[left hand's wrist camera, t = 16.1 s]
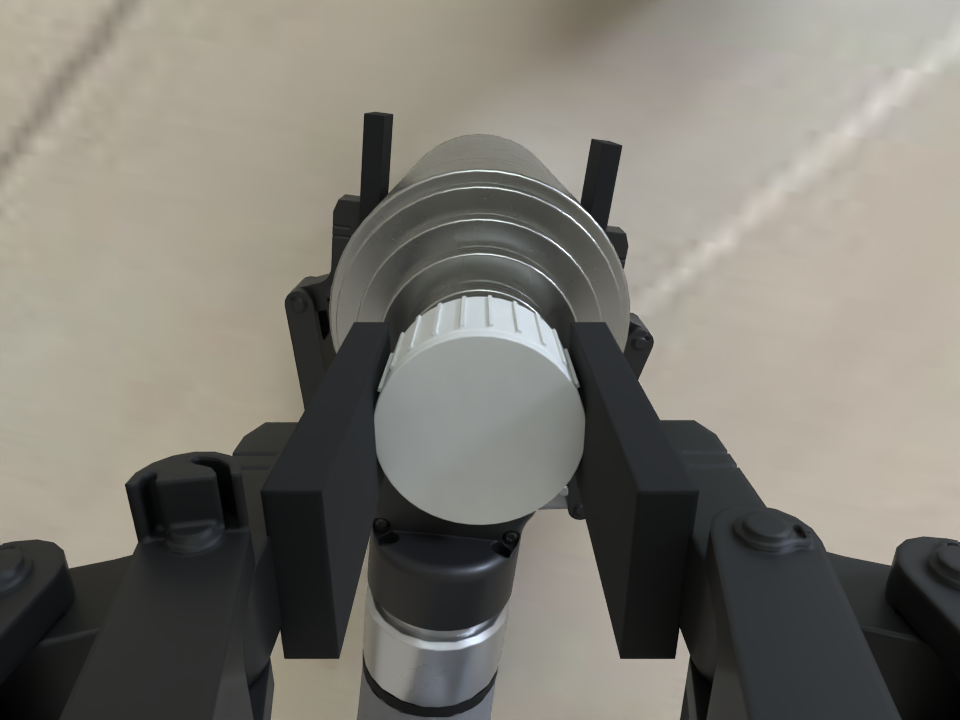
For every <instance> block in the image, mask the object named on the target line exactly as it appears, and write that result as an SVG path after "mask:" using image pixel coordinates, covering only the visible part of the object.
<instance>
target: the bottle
mask: <svg viewBox="0 0 960 720" xmlns="http://www.w3.org/2000/svg"><path fill="white" fill-rule="evenodd" d="M488 295H492V297H493V298H499V299H503V300H507V301H510V302H513V301H516V302H517V304H518V305H520V306H522V307H525V308H526V309H528V310H530V311H531V312H533V313H534V314H535V312H537V313H538V314H539V316H540V318H541V319H542V320H543V321H544V322H545V323H546V324H547V325H548V326H549V327H550V328H551V329H555V330H556V332H557V335H558V338H559V340H560V342H561V344H562V346H563V348H564V349H566V348H567V350H568V353H569V339H570V322H606V324H607V326H608V327H609V329H610V331H611V333H612V335H613V336H614V338H615V340H616V342H617V344H618V345H619V347H620V349H621V351H622V353H624V349H625V345H626V342H627V338H628V330H629V322H630V300H629V293H628V286H627V281H626V278H625V274H624V271H623V267H622V264H621V262H620V260H619V257H618V255H617V253H616V251H615V248H614V246H613V245H612V243H611V242H610V240H609V238H608V237H607V235H606V234H605V232H604V230H603V229H602V228H601V227H600V225H599V224H598V223H597V222H596V221H595V220H594V218H593V217H592V216H591V215H590V214H589V213H588V212H587V211H586V209H585V208H584V207H583V206H582V205H581V204H580V203H579V202H578V201H577V200H576V199H575V198H574V197H573V196H572V194H571V193H570V192H569V191H568V190H567V189H566V188H565V187H564V186H563V185H562V184H561V183H560V182H559V181H558V179H557V178H556V177H555V176H554V175H553V174H552V173H551V172H550V171H549V170H548V169H547V168H546V167H545V166H544V164H543V163H542V162H541V161H540V160H539V159H538V158H537V157H536V156H534V155H533V154H532V153H531V152H530V151H528V150H527V149H526V148H524V147H523V146H521V145H519V144H517V143H515V142H513V141H511V140H508V139H505V138H502V137H498V136H493V135H482V134H476V135H466V136H462V137H457V138H454V139H452V140H449V141H446V142H444V143H442V144H441V145H439V146H437V147H435V148H434V149H433V150H431V151H430V152H429V153H427V154H426V155H425V156H424V157H423V158H422V159H421V160H420V161H419V162H418V163H417V164H416V165H415V166H414V167H413V168H412V169H411V170H410V172H409V173H408V174H407V175H406V176H405V177H404V178H403V179H402V180H401V181H400V182H399V183H398V184H397V185H396V186H395V187H394V189H393V190H392V191H391V192H390V193H389V194H388V195H387V196H386V197H385V198H384V199H383V200H382V201H381V202H380V203H379V205H378V206H377V207H376V208H375V209H374V210H373V211H372V212H371V213H370V214H369V215H368V216H367V217H366V218H365V219H364V221H363V222H362V223H361V225H360V226H359V227H358V229H357V230H356V231H355V232H354V234H353V235H352V237H351V239H350V240H349V242H348V244H347V246H346V247H345V249H344V251H343V253H342V255H341V258H340V260H339V263H338V266H337V268H336V271H335V275H334V279H333V283H332V288H331V295H330V306H329V313H330V329H331V335H332V340H333V345H334V348H335V351H336V354H337V352H338V350H339V348H340V346H341V345H342V343H343V341H344V339H345V337H346V336H347V334H348V332H349V330H350V328H351V327H352V325H353V323H354V322H389V328H390V347H391V353H394V351H395V349H396V346H397V343H398V340H399V337H400V334H401V333H402V332H403V333H405V332H406V330H407V329H408V328H409V327H410V326H411V325H412V324H413V323H414V322H415V321H416V317H417V316H418V315H420V316H422V315H423V314H425V313H426V312H428V311H429V310H431V309H433V308H435V307H437V306H438V303H441V302H442V304H443V303H446V302H449V301H452V300H456V299H461V298H462V296H466V297H488Z"/></svg>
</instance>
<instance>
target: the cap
mask: <svg viewBox="0 0 960 720" xmlns="http://www.w3.org/2000/svg"><path fill="white" fill-rule="evenodd" d="M578 387H580V385H579V382H578V379H577V376H576V373H575V370H574V367H573V364H572V361H571V358H570V356H569V353H568V350H567V348H566V349H564V348H563V346H562V344H561V342H560V340H559V338H558V335H557V332H556V330H555V329H551V328H550V327H549V326H548V325H547V324H546V323H545V322H544V321H543V320H542V319H541V318H540V316H539V314H538V313H537V312H535V314H534V313H533V312H531V311H530V310H528V309H526V308H525V307H522V306H520V305H518V304H517V302H516V301H513V302H510V301H507V300H503V299H499V298H493V297H492V295H488V297H466V296H462V298H461V299H456V300H452V301H449V302H446V303H443V304H442V302H441V303H438V306H437V307H435V308H433V309H431V310H429V311H428V312H426V313H425V314H423V315H422V316H420V315H418V316H417V317H416V321H415V322H414V323H413V324H412V325H411V326H410V327H409V328H408V329H407V330H406V332H405V333H403V332H402V333H401V334H400V337H399V340H398V343H397V346H396V349H395V351H394V353H390V356H389V358H388V361H387V364H386V367H385V370H384V373H383V376H382V378H381V381H380V384H379V387H378V390H377V391H378V392H380V394H379V397H378V400H377V404H376V407H375V411H374V425H375V440H376V454H377V458H378V461H379V463H380V465H381V467H382V469H383V471H384V473H385V475H386V476H387V478H388V479H389V481H390V482H391V484H392V485H393V486H394V487H395V488H396V489H397V491H398V492H399V493H400V494H401V495H402V496H404V497H405V498H406V499H407V500H408V501H409V502H411V503H412V504H414V505H415V506H417V507H418V508H420V509H421V510H423V511H425V512H427V513H429V514H431V515H434V516H436V517H439V518H441V519H444V520H448V521H452V522H456V523H463V524H472V525H487V524H497V523H502V522H508V521H511V520H514V519H518V518H521V517H523V516H525V515H528V514H530V513H532V512H534V511H536V510H537V509H539V508H541V507H543V506H544V505H545V504H547V503H548V502H549V501H551V500H552V499H553V498H554V497H556V496H557V495H558V494H559V493H560V492H561V491H562V490H563V489H564V487H565V486H566V485H567V483H568V482H569V481H570V480H571V478H572V476H573V475H574V473H575V471H576V470H577V468H578V465H579V463H580V461H581V458H582V455H583V448H584V434H585V411H584V407H583V404H582V401H581V398H580V395H579V392H578V389H577V388H578Z"/></svg>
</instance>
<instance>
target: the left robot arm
mask: <svg viewBox="0 0 960 720" xmlns="http://www.w3.org/2000/svg"><path fill="white" fill-rule="evenodd" d="M390 353H391V347H390V328H389V322H354V323H353V325H352V327H351V328H350V330H349V332H348V334H347V336H346V337H345V339H344V341H343V343H342V345H341V346H340V348H339V350H338V352H337V354H336V355H335V357H334V359H333V361H332V363H331V364H330V366H329V368H328V370H327V372H326V373H325V375H324V377H323V379H322V381H321V382H320V384H319V386H318V388H317V390H316V391H315V393H314V395H313V397H312V399H311V400H310V402H309V404H308V406H307V408H306V409H305V411H304V413H303V415H302V417H301V418H300V420H299V422H266V423H264V424H263V425H261V426H259V427H258V428H256V429H255V430H253V431H252V432H250V433H249V434H247V435H246V436H244V437H243V439H242V440H241V442H240V443H239V445H238V446H237V448H236V449H235V450H234V452H233V456H230V455H226V454H222V453H218V452H191V453H185V454H180V455H174V456H171V457H168V458H165V459H162V460H160V461H157V462H154V463H152V464H150V465H148V466H147V467H145V468H143V469H142V470H140V471H138V472H136V473H135V474H134V475H133V476H132V477H131V479H130V480H129V481H128V482H127V483H126V484H125V487H126V491H127V496H128V500H129V504H130V508H131V513H132V517H133V521H134V526H135V530H136V534H137V538H138V544H137V546H136V548H135V551H134V553H133V555H130V556H126V557H122V558H119V559H115V560H110V561H105V562H100V563H95V564H90V565H85V566H80V567H75V568H70V569H69V568H68V564H67V561H66V557H65V554H64V550H62V549H61V548H60V547H59V546H58V545H56V544H55V543H53V542H48V541H42V540H26V541H14V542H9V543H4V544H3V545H0V720H271V711H272V701H273V692H274V679H273V673H272V666H271V660H270V655H271V653H272V650H273V647H274V645H275V642H276V639H277V637H278V634H279V631H281V638H282V645H283V652H284V658H285V659H339V657H340V653H341V649H342V645H343V641H344V637H345V633H346V629H347V625H348V621H349V617H350V613H351V609H352V605H353V601H354V597H355V593H356V589H357V585H358V581H359V577H360V573H361V569H362V565H363V561H364V557H365V553H366V549H367V545H368V541H369V537H370V533H371V529H372V525H373V521H374V517H375V513H376V509H377V505H378V501H379V497H380V493H381V489H382V485H383V481H384V477H385V473H384V471H383V469H382V467H381V465H380V463H379V461H378V458H377V454H376V440H375V425H374V411H375V407H376V404H377V400H378V397H379V394H380V392H378V391H377V390H378V387H379V384H380V381H381V378H382V376H383V373H384V370H385V367H386V364H387V361H388V358H389V356H390ZM569 356H570V358H571V361H572V364H573V367H574V370H575V373H576V376H577V379H578V382H579V385H580V387H578V388H577V389H578V392H579V395H580V398H581V401H582V404H583V407H584V411H585V434H584V448H583V455H582V458H581V461H580V463H579V465H578V468H577V470H576V471H575V473H574V474H575V478H576V482H577V486H578V490H579V494H580V498H581V502H582V506H583V510H584V514H585V518H586V522H587V526H588V530H589V534H590V538H591V542H592V546H593V550H594V554H595V558H596V563H597V567H598V571H599V575H600V579H601V583H602V587H603V591H604V595H605V599H606V603H607V607H608V611H609V615H610V619H611V623H612V627H613V631H614V635H615V639H616V643H617V647H618V651H619V655H620V659H675V656H676V649H677V642H678V635H679V628H680V629H681V632H682V634H683V637H684V640H685V642H686V645H687V648H688V650H689V653H690V660H689V666H688V673H687V679H686V685H685V692H684V698H683V705H682V711H681V718H680V720H689V719H690V720H960V542H958V541H957V540H952V539H947V538H934V537H918V538H913V539H907V540H905V541H904V542H903V543H902V544H900V545H899V546H898V547H897V548H896V552H895V555H894V559H893V562H892V566H889V565H884V564H879V563H874V562H869V561H864V560H859V559H854V558H849V557H844V556H841V555H837V554H833V553H829V552H826V550H825V547H824V545H823V543H822V541H821V540H820V538H819V537H818V536H817V534H816V533H815V532H814V530H813V529H812V528H810V527H809V526H808V525H806V524H805V523H803V522H802V521H800V520H799V519H797V518H796V517H794V516H791V515H789V514H786V513H784V512H781V511H779V510H777V509H772V508H767V507H766V506H765V504H764V503H763V501H762V500H761V499H760V497H759V496H758V494H757V493H756V491H755V490H754V488H753V487H752V486H751V484H750V483H749V481H748V480H747V478H746V477H745V476H744V474H743V473H742V471H741V470H740V468H737V464H736V463H735V461H734V460H733V458H732V457H731V455H730V454H727V450H726V448H725V447H724V445H723V444H722V443H721V441H720V440H719V438H718V437H717V435H716V434H714V433H713V432H711V431H710V430H708V429H707V428H705V427H704V426H702V425H701V424H699V423H698V422H696V421H694V420H660V419H659V417H658V416H657V414H656V412H655V410H654V408H653V407H652V405H651V403H650V401H649V399H648V398H647V396H646V394H645V392H644V390H643V389H642V387H641V385H640V383H639V381H638V380H637V378H636V376H635V374H634V372H633V371H632V369H631V367H630V365H629V363H628V362H627V360H626V358H625V356H624V354H623V353H622V351H621V349H620V347H619V345H618V344H617V342H616V340H615V338H614V336H613V335H612V333H611V331H610V329H609V327H608V326H607V324H606V322H570V339H569Z"/></svg>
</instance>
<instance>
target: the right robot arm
mask: <svg viewBox="0 0 960 720" xmlns="http://www.w3.org/2000/svg"><path fill="white" fill-rule="evenodd" d="M392 125H393V114H388V113H380V112H371V113H364V130H363V151H362V171H361V192H360V196H354V195H346V194H345V195H344V196H343V197H341V198H340V199H339V200H338V202H337V204H336V207H335V209H334V211H333V237H332V266H331V272H330V273H329V274H326V275H322V276H318V277H312V276H310V277H306V278H304V279H303V280H302V281H301V282H300V283H299V284H298V285H297V286H296V287H295V288H294V289H293V290H292V291H291V292H290V293H289V294H288V295H287V297H286V299H285V309H286V314H287V319H288V325H289V330H290V335H291V340H292V345H293V351H294V356H295V361H296V366H297V371H298V377H299V382H300V387H301V392H302V397H303V403H304V408H305V409H306V408H307V406H308V404H309V402H310V400H311V399H312V397H313V395H314V393H315V391H316V390H317V388H318V386H319V384H320V382H321V381H322V379H323V377H324V375H325V373H326V372H327V370H328V368H329V366H330V364H331V363H332V361H333V359H334V357H335V355H336V351H335V348H334V345H333V340H332V335H331V329H330V313H329V306H330V295H331V288H332V283H333V279H334V275H335V271H336V268H337V266H338V263H339V260H340V258H341V255H342V253H343V251H344V249H345V247H346V246H347V244H348V242H349V240H350V239H351V237H352V235H353V234H354V232H355V231H356V230H357V229H358V227H359V226H360V225H361V223H362V222H363V221H364V219H365V218H366V217H367V216H368V215H369V214H370V213H371V212H372V211H373V210H374V209H375V208H376V207H377V206H378V205H379V203H380V202H381V201H382V200H383V199H384V198H385V197H386V196H387V195H388V188H389V172H390V157H391V141H392ZM621 150H622V145H619V144H616V143H613V142H610V141H604V140H596V139H592V140H591V145H590V151H589V157H588V163H587V169H586V174H585V180H584V186H583V192H582V198H581V205H582V206H583V207H584V208H585V209H586V211H587V212H588V213H589V214H590V215H591V216H592V217H593V218H594V220H595V221H596V222H597V223H598V224H599V225H600V227H601V228H602V229H603V230H604V232H605V234H606V235H607V237H608V238H609V240H610V242H611V243H612V245H613V246H614V248H615V251H616V253H617V255H618V257H619V260H620V262H621V264H622V267H623V269H624V265H625V259H626V255H627V250H628V242H627V237H626V233H625V232H624V231H623V230H622V229H621V228H619V227H613V226H607V224H608V218H609V213H610V208H611V202H612V197H613V192H614V187H615V181H616V176H617V171H618V165H619V160H620V155H621ZM653 343H654V341H653V337H652V335H651V334H650V332H649V331H648V330H647V328H646V327H645V325H644V324H643V323H642V321H641V320H640V319H639V317H638V316H637V315H635V314H634V313H630V322H629V330H628V338H627V342H626V345H625V349H624V353H623V354H624V356H625V358H626V360H627V362H628V363H629V365H630V367H631V369H632V371H633V372H634V374H635V376H636V378H637V380H638V379H639V376H640V374H641V372H642V370H643V367H644V365H645V363H646V361H647V358H648V356H649V354H650V352H651V349H652V347H653ZM567 508H568V512H569V514H570V516H571V517H572V518H574V519H578V520H582V519H586V518H585V514H584V510H583V506H582V502H581V498H580V494H579V490H578V486H577V482H576V478H575V474H574V475H573V476H572V478H571V480H570V481H569V482H568V483H567V485H566V486H565V487H564V489H563V490H562V491H561V492H560V493H559V494H558V495H557V496H556V497H554V498H553V499H552V500H551V501H549V502H548V503H547V504H545V505H544V506H543V507H541V508H539V509H567ZM537 510H538V509H537ZM534 513H535V511H534V512H532V513H530V514H528V515H525V516H523V517H521V518H518V519H514V520H511V521H508V522H502V523H497V524H487V525H472V524H463V523H456V522H452V521H448V520H444V519H441V518H439V517H436V516H434V515H431V514H429V513H427V512H425V511H423V510H421V509H420V508H418V507H417V506H415V505H414V504H412V503H411V502H409V501H408V500H407V499H406V498H405V497H404V496H402V495H401V494H400V493H399V492H398V491H397V489H396V488H395V487H394V486H393V485H392V484H391V482H390V481H389V479H388V478H387V476H386V475H385V477H384V481H383V485H382V489H381V493H380V497H379V501H378V505H377V509H376V513H375V517H374V521H373V525H372V529H371V533H370V546H369V561H368V588H367V592H366V604H365V622H364V640H363V668H362V678H361V688H360V697H359V707H358V715H357V720H490V717H491V709H492V702H493V694H494V686H495V679H496V675H497V671H498V665H499V661H500V658H501V652H502V646H503V640H504V634H505V629H506V623H507V617H508V610H509V598H510V595H511V591H512V586H513V580H514V574H515V568H516V563H517V557H518V551H519V545H520V539H521V534H522V530H523V528H524V526H525V524H526V523H527V521H528V520H529V519H530V518H531V517H532V516H533V515H534Z"/></svg>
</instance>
